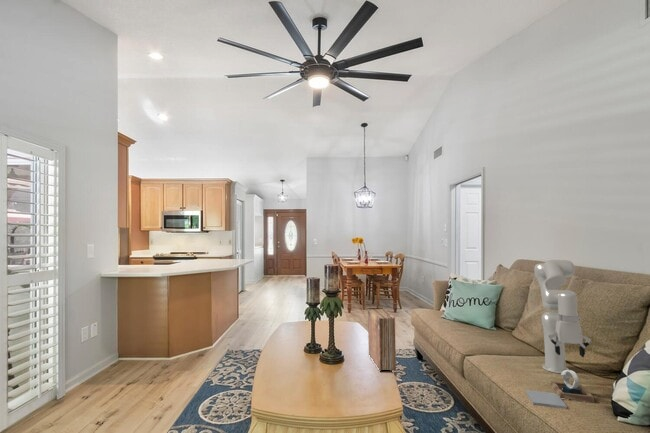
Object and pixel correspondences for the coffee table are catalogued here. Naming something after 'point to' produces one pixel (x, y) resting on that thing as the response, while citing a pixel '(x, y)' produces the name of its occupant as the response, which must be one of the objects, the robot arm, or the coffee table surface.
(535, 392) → the pad
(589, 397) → the pocket frame
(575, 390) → the watch
